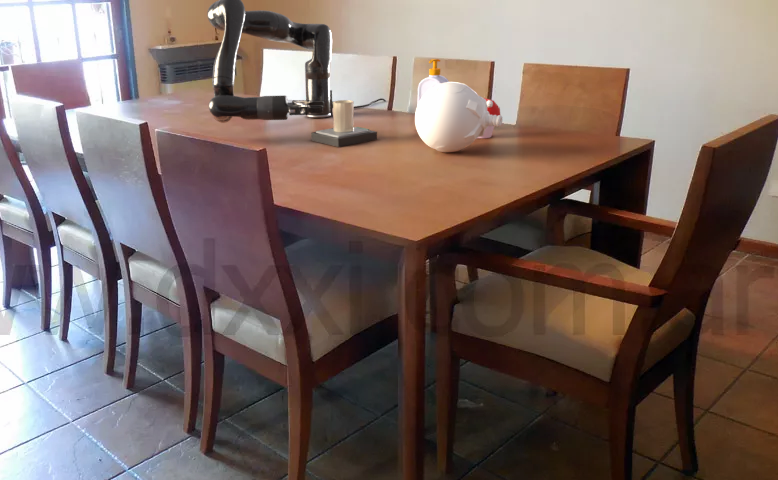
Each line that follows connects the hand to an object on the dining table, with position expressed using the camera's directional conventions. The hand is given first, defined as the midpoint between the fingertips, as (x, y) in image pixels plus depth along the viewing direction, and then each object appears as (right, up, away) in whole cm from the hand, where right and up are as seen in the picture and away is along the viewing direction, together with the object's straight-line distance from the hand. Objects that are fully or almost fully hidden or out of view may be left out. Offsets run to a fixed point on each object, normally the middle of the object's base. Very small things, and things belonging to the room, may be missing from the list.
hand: (323, 106), depth 216 cm
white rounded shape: (+39, -18, -17) cm, 46 cm away
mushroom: (+51, -9, +3) cm, 52 cm away
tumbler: (+7, -7, +3) cm, 10 cm away
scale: (+7, -10, +4) cm, 12 cm away
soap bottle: (+37, -4, +14) cm, 40 cm away
